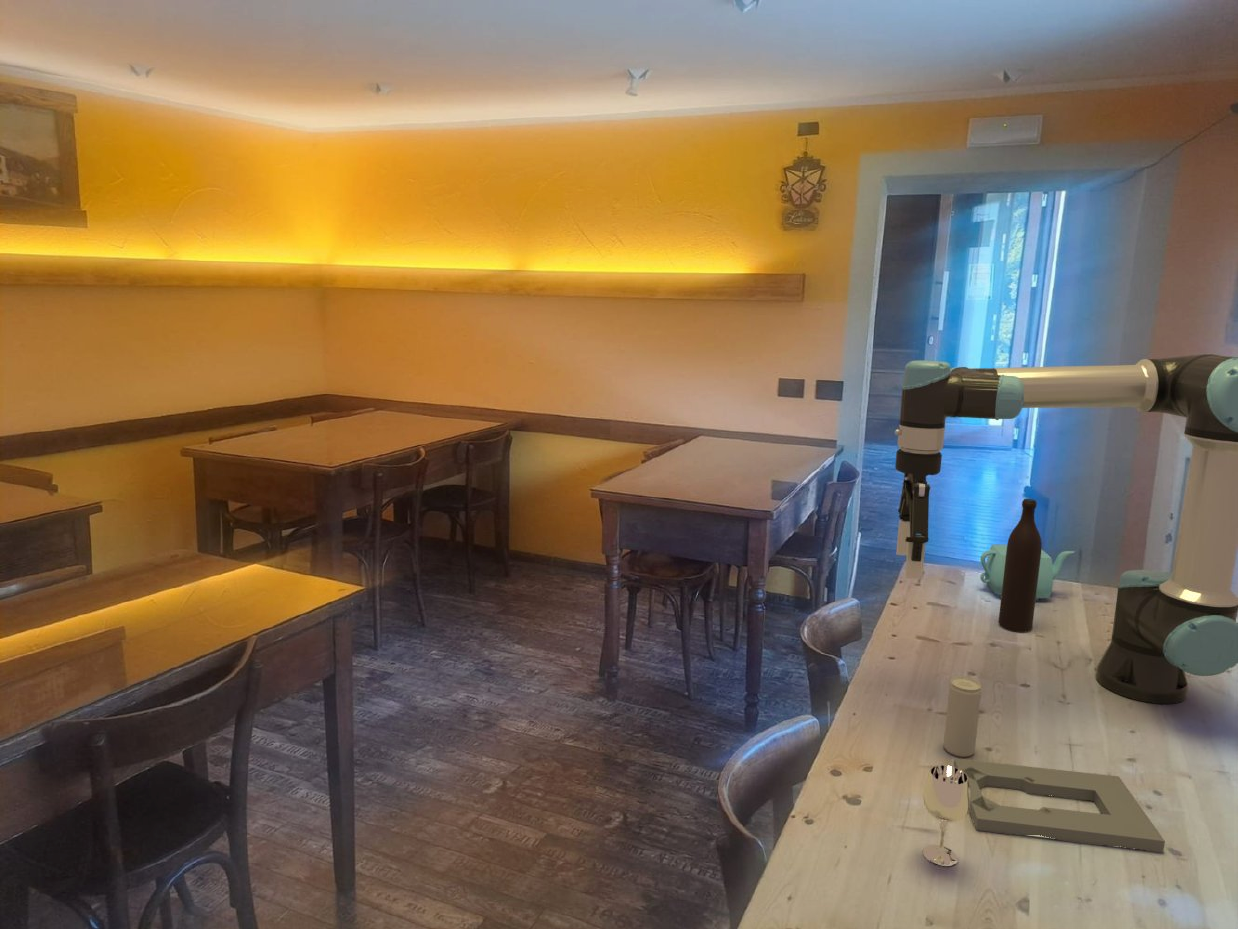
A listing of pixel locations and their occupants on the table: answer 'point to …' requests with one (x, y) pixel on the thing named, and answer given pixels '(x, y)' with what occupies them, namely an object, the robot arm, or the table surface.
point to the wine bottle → (1021, 573)
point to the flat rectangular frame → (1109, 793)
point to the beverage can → (962, 716)
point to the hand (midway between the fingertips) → (908, 566)
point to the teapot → (997, 565)
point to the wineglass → (945, 806)
